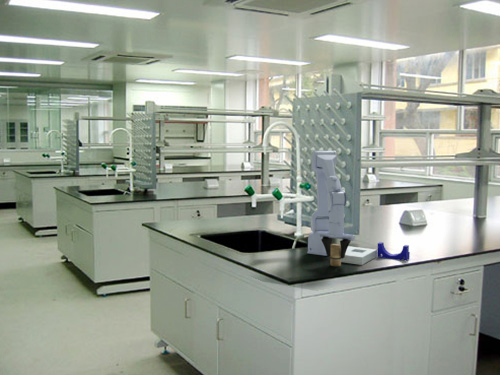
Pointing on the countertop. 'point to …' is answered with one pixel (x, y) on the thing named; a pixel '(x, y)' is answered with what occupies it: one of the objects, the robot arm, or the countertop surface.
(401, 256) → the blue cradle bracket
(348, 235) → the robot arm
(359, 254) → the hole board
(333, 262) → the oak peg
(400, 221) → the countertop surface
